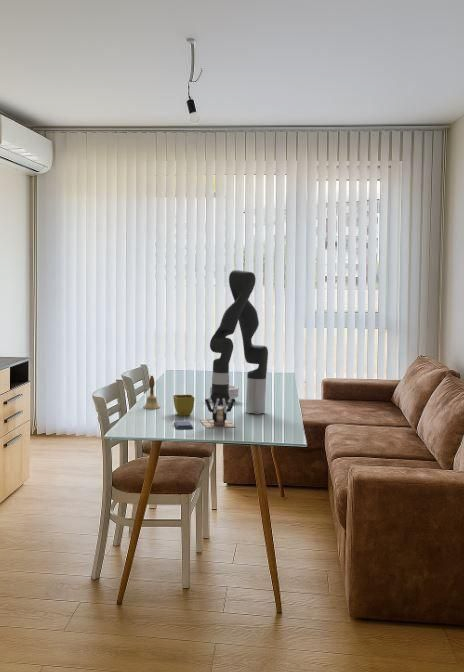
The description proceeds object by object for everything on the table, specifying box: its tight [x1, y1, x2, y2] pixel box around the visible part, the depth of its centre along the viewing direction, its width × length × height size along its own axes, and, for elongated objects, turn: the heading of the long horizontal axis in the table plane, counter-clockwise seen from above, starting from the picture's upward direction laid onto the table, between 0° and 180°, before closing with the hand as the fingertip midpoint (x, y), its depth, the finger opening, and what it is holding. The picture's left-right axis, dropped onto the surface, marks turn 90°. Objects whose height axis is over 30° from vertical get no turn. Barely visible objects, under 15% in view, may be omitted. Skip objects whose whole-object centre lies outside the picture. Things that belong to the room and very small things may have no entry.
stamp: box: [214, 407, 225, 426], centre depth 285 cm, size 5×5×7 cm
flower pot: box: [173, 394, 196, 417], centre depth 307 cm, size 9×9×9 cm
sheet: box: [199, 418, 236, 429], centre depth 290 cm, size 16×13×1 cm
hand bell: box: [143, 375, 161, 410], centre depth 322 cm, size 8×8×16 cm
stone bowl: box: [209, 384, 240, 402], centre depth 345 cm, size 15×15×8 cm
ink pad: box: [173, 420, 194, 430], centre depth 282 cm, size 9×7×2 cm
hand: (219, 420), depth 285 cm, fingers closed on stamp, 3 cm apart
